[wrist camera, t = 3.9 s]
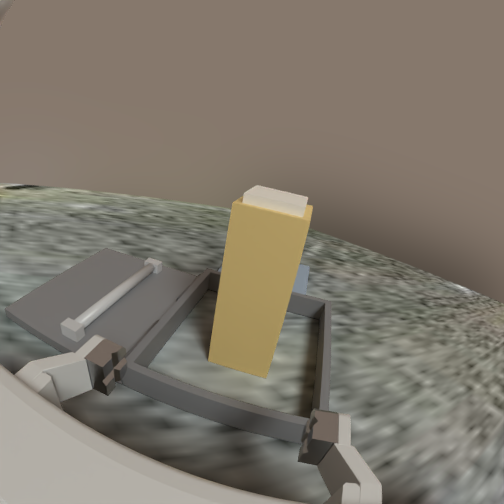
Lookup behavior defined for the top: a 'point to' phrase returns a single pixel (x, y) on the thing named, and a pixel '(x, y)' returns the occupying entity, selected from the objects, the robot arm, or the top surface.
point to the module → (257, 277)
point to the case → (157, 331)
